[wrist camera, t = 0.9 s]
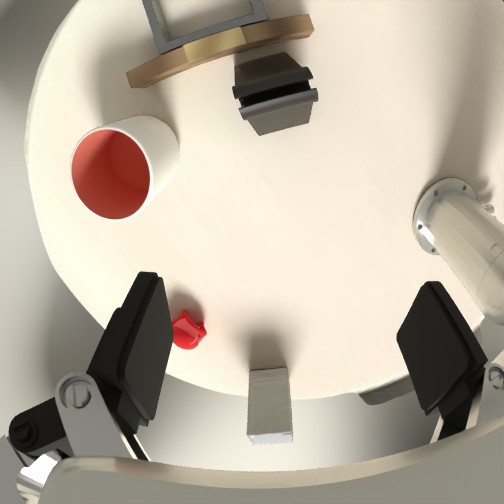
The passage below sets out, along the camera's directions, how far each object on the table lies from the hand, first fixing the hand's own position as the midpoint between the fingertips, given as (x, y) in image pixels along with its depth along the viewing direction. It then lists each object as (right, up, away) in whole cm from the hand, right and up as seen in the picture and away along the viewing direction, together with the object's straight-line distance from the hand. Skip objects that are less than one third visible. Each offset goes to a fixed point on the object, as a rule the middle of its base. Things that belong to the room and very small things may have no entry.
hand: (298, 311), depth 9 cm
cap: (-13, -10, +38) cm, 42 cm away
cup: (-15, +15, +23) cm, 31 cm away
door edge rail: (-5, +25, +15) cm, 30 cm away
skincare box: (+2, -24, +47) cm, 53 cm away
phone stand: (+1, +20, +18) cm, 27 cm away
